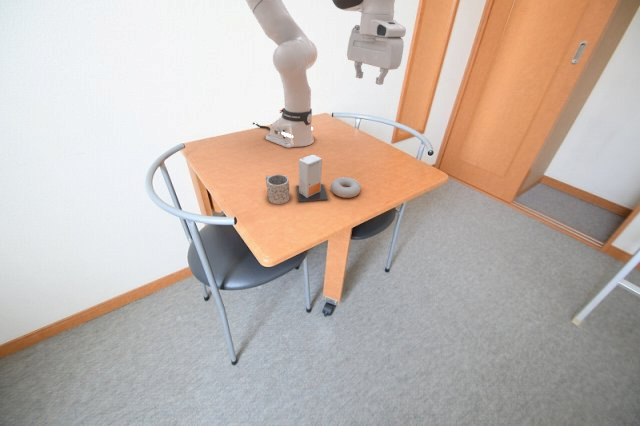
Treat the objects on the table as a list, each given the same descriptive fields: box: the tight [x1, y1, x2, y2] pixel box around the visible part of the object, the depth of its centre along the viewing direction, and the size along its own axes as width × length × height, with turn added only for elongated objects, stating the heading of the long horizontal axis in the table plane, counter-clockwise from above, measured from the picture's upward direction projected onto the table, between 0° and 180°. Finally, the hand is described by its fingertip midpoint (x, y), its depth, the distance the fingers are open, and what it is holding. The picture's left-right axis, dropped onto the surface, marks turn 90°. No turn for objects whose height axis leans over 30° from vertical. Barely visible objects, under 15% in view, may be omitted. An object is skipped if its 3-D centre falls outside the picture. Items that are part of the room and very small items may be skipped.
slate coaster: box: [296, 183, 328, 203], centre depth 89 cm, size 9×9×1 cm
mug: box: [265, 174, 291, 205], centre depth 85 cm, size 10×7×7 cm, turn 41°
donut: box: [330, 176, 362, 199], centre depth 90 cm, size 10×3×10 cm
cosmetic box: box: [298, 154, 323, 198], centre depth 85 cm, size 6×4×12 cm
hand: (368, 81), depth 84 cm, fingers open, 8 cm apart
